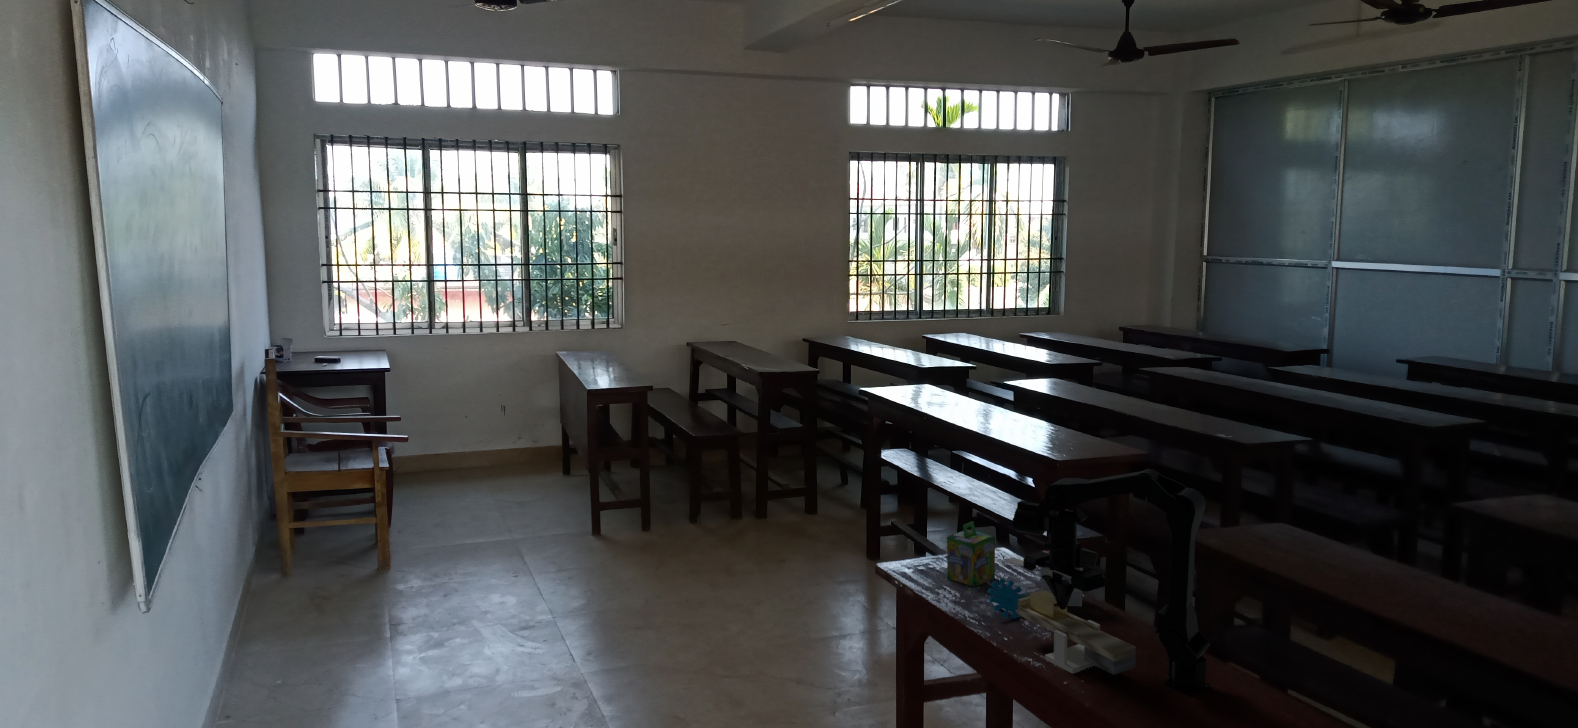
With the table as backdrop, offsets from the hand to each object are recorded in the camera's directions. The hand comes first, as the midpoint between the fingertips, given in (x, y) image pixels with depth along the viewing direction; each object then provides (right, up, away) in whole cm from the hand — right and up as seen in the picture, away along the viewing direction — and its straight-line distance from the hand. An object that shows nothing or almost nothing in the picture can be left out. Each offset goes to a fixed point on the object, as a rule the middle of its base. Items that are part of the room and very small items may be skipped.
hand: (1063, 608), depth 219 cm
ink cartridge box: (+7, -6, +29) cm, 31 cm away
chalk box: (-11, -3, +46) cm, 47 cm away
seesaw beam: (+2, -8, -2) cm, 8 cm away
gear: (-6, -7, +24) cm, 25 cm away
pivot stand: (+2, -10, -2) cm, 11 cm away
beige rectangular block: (-2, -2, +4) cm, 5 cm away
